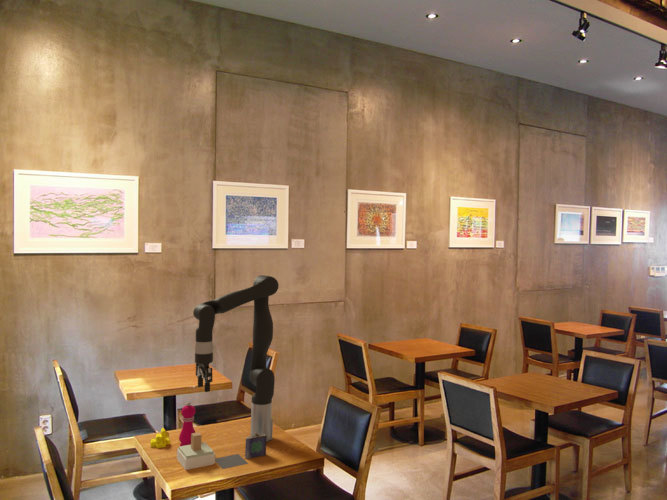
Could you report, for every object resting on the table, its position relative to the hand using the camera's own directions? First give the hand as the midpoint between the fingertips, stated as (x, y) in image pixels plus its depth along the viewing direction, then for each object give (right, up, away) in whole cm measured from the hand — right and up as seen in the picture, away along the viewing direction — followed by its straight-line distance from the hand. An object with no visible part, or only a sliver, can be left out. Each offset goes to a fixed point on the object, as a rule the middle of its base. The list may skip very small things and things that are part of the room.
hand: (203, 389), depth 219 cm
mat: (+13, -28, -9) cm, 32 cm away
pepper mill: (-8, -27, +5) cm, 29 cm away
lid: (-1, -23, -10) cm, 25 cm away
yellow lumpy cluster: (-21, -27, +7) cm, 35 cm away
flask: (+23, -28, -3) cm, 36 cm away
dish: (-1, -27, -10) cm, 29 cm away
